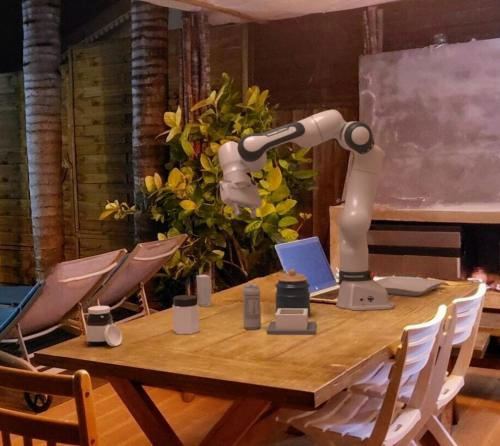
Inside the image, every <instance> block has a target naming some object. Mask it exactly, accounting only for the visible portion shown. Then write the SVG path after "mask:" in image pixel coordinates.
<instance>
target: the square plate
mask: <svg viewBox="0 0 500 446" xmlns="http://www.w3.org/2000/svg"><path fill="white" fill-rule="evenodd" d="M375 281H376V282H377V283H379V284H380V285H381V286H383V287H384V288H385V289H386V291H387V293H388V295H395V296H396V295H397V296H405V297H406V296H407V297H418V296H421V295H423V294H426V293H428V292H430V291H432V290H434V289H437V288H439V287H440V286H442V285H443V283H445V281H444V280H437V279H429V278H418V277H406V276H405V277H404V276H402V277H401V276H386V277H382V278H379V279H377V280H375Z"/></svg>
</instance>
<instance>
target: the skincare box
mask: <svg viewBox="0 0 500 446" xmlns="http://www.w3.org/2000/svg"><path fill="white" fill-rule="evenodd" d="M195 277H196V292H197V293H196V294H197V300H198V302H197V304H198V305H199V306H200V307H203V308H207V307H212V292H211V291H212V290H211V288H212V287H211V276H209V275H207V274H198V275H197V274H196V276H195Z"/></svg>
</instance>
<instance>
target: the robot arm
mask: <svg viewBox="0 0 500 446" xmlns="http://www.w3.org/2000/svg"><path fill="white" fill-rule="evenodd" d="M329 140H334V141H335V142H336V144H337V145H338V146H339V147H340V148H341V149H343V150H347V151H352V153H353V156H354V159H353V160H354V161H353V164H352V168H351V171H350V176H349V181H348V183H347V186H346V187H347V188H346V195H345V203H344V207H343V208H342V209H341V210H340V211H339V213H338V216H337V230H338V231H337V232H338V244H339V270H338V284H339V287H338V288H339V289H338V290H339V291H338V296H337V302H336V304H335V305H336V306H337V307H338V308H341V309H347V310H350V311H371V310H372V311H373V310H375V311H376V310H391V309H394V308H395V302H394V301H393V300H390V298H389V294H388V293H387V291H386V289H385V288H384V287H383V286H381V285H380V284H379V283H377V282H376V280H375V278H376V273H375V272H374V271H372V270H371V269H369V248H368V239H367V232H368V231H369V230H370V227H371V223H372V217H373V213H374V205H375V198H376V193H377V190H378V189H377V188H378V185H379V180H380V176H381V173H382V167H383V161H384V160H383V159H384V151H383V149H382V148H381V147H380V146H378V145H377V144H375V140H374V135H373V131H372V128H371V127H370V126H369V124H367V123H365V122H363V121H360V120H359V121H349V122H347V121H346V120H345V119H344V117H343V115H342V113H340V112H339V111H338V110H336V109H329V110H328V109H327V110H324V111H321V112H318V113H316V114H312V115H310V116H308V117H305V118H303V119H300V120H298V121H294V122H290V123H286V124H284V125H280V126H278V127H276V128H273V129H270V130H266V131H264V132H257V133H255V132H254V133H248V134H245V135H243V136H242V137H241V138H240V139H239V141H238V143H237V142H235V141H234V140H233V141H227V142H225V143H223V144H222V145H220V147H219V148H218V152H217V155H218V156H217V157H218V162H219V167H220V169H221V171H222V174H223V179H221V180H220V181H219V193H220V200H221V201H222V203H223V204H225V205H229V206H230V208H231V209H232V211H233V212H234V216H241V215H242V212H241V209H239V207H241V208H247V209H249V210H250V211H251V213H250V214H249V215H250V218H251V219H257V218H258V217H257V209H259V208H261V207H262V205H263V202H262V196H261V194H260V191H259V190H258V188H257V187H258V183H257V181H255V180H254V179H253V178H251V177H250V175H248V173H255V172H259V171H262V170H263V169H265V167H266V165H267V164H268V159H267V158H268V157H267V152H268V150H270V149H272V148H275V147H278V146H280V145H284V144H286V143H295V144H296V145H298V146H300V147H301V148H304V149H307V148H312V147H315V146H319V145H320V144H322V143H325V142H326V141H329Z"/></svg>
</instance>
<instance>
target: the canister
mask: <svg viewBox="0 0 500 446" xmlns="http://www.w3.org/2000/svg"><path fill="white" fill-rule="evenodd" d="M276 279H277V282H276V283H275V285H274V286H275V288H276V289H275V290H276V292H275V294H274V295H275V313H276V312H277V310H278V308H293V309H308V318H309V317H310V316H311V299H310V298H311V292H310V289H309V288H310V286H311V284H310V283H309V282H308V279H309V278H308V277H307V276H305V275H304V274H303V273H297V271H296V269H294V268H291V269H289V270H288V273H283V274H281V275H280V276H279V277H277V278H276Z"/></svg>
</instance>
